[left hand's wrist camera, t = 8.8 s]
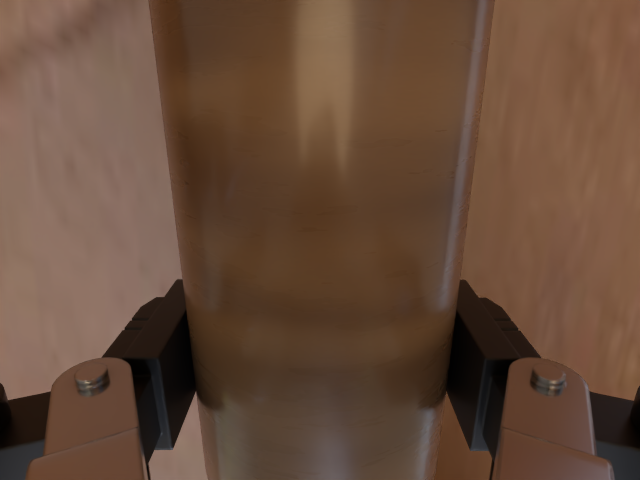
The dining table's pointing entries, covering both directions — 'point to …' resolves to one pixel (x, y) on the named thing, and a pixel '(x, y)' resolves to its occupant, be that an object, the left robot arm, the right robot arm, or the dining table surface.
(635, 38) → the dining table surface
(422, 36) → the rod
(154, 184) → the dining table surface
